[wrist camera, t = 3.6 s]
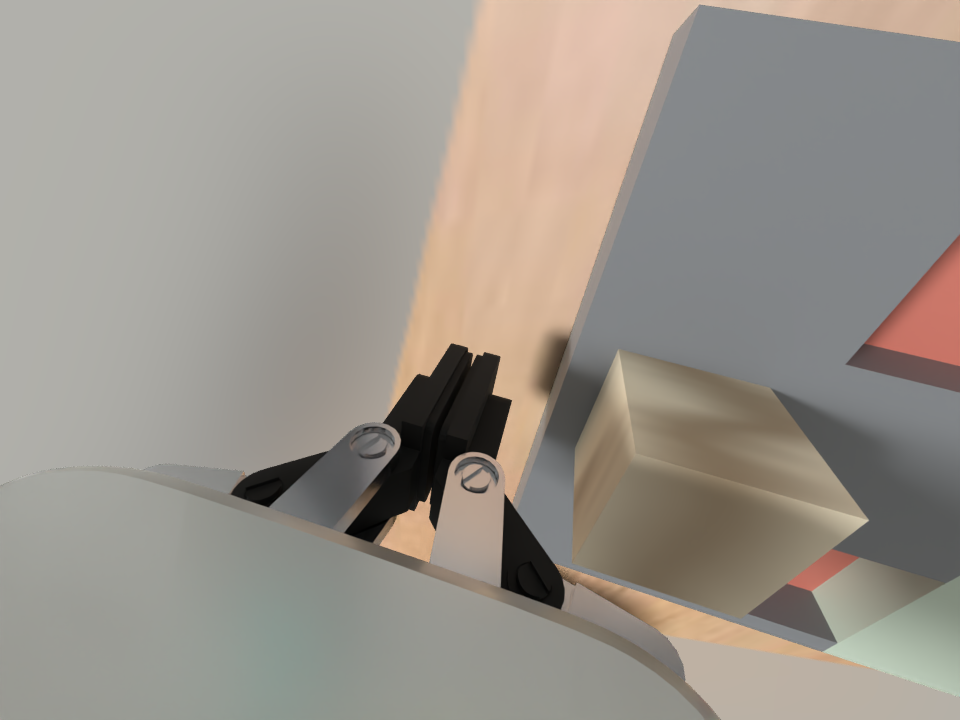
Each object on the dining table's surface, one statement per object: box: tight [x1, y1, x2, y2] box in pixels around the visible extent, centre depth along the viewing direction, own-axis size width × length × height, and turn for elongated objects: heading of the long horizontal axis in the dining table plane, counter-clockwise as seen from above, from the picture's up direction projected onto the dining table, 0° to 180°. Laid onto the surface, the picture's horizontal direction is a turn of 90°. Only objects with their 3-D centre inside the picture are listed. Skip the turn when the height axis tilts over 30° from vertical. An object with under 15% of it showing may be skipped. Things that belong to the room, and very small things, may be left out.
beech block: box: [572, 349, 869, 619], centre depth 10 cm, size 4×4×4 cm
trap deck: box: [512, 5, 960, 697], centre depth 12 cm, size 22×20×2 cm
